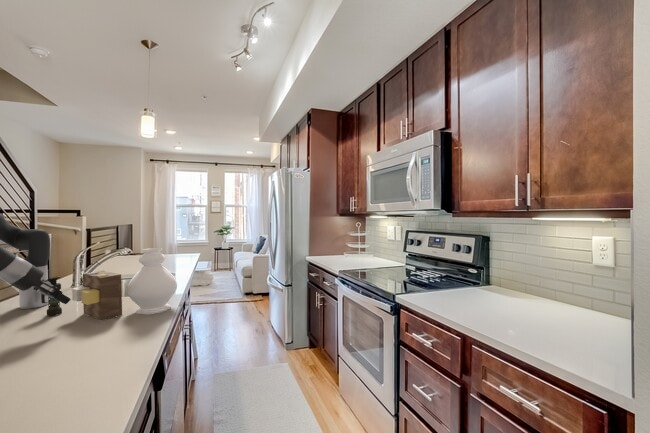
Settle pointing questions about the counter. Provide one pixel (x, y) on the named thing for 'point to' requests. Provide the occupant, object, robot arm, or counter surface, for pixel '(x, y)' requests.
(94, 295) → the mustard button
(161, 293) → the decorative vase
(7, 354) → the counter surface
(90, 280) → the brown wooden block
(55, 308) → the grenade
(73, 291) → the ivory button
